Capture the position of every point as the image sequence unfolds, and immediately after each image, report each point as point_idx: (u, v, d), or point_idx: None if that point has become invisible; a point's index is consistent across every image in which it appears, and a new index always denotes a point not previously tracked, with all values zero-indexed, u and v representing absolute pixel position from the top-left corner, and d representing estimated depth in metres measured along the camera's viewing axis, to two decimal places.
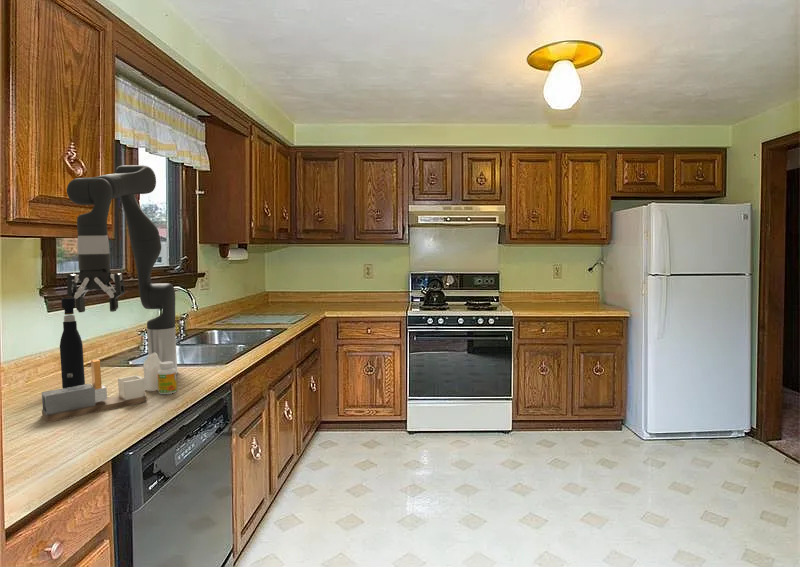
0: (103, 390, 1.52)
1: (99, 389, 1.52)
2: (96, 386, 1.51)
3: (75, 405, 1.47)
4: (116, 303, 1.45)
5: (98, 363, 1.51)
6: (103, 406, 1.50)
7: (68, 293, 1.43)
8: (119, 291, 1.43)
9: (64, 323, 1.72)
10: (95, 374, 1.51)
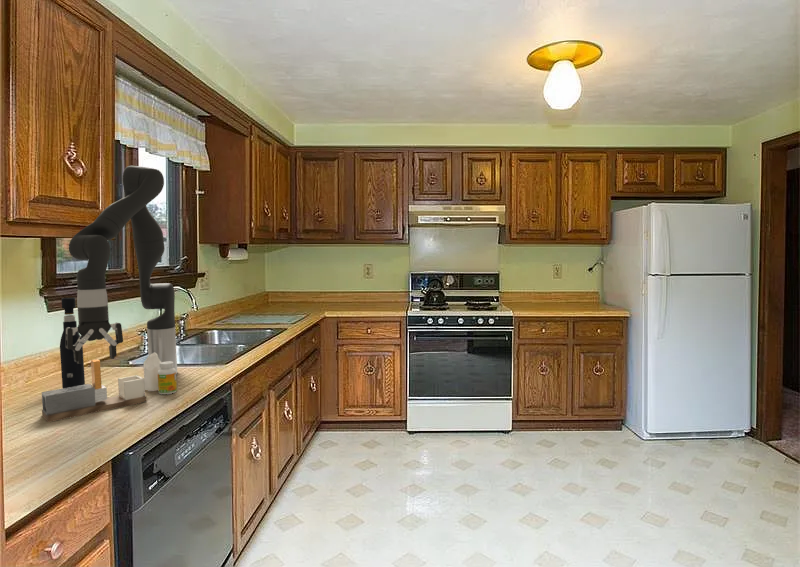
0: (103, 390, 1.52)
1: (99, 389, 1.52)
2: (96, 386, 1.51)
3: (75, 405, 1.47)
4: (74, 356, 1.48)
5: (98, 363, 1.51)
6: (103, 406, 1.50)
7: None
8: None
9: (64, 323, 1.72)
10: (95, 374, 1.51)
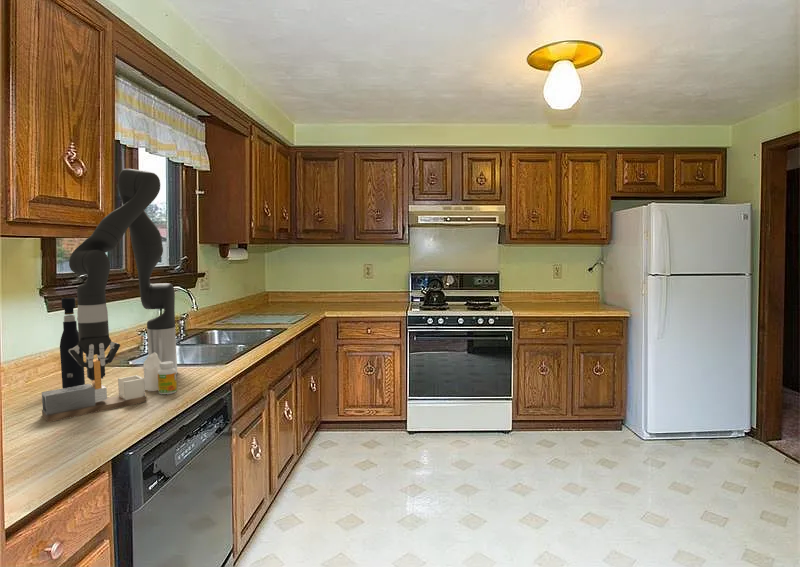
0: (103, 390, 1.52)
1: (99, 389, 1.51)
2: (96, 386, 1.51)
3: (75, 405, 1.47)
4: (87, 373, 1.51)
5: (98, 363, 1.51)
6: (103, 406, 1.50)
7: None
8: None
9: (64, 323, 1.72)
10: (95, 374, 1.51)
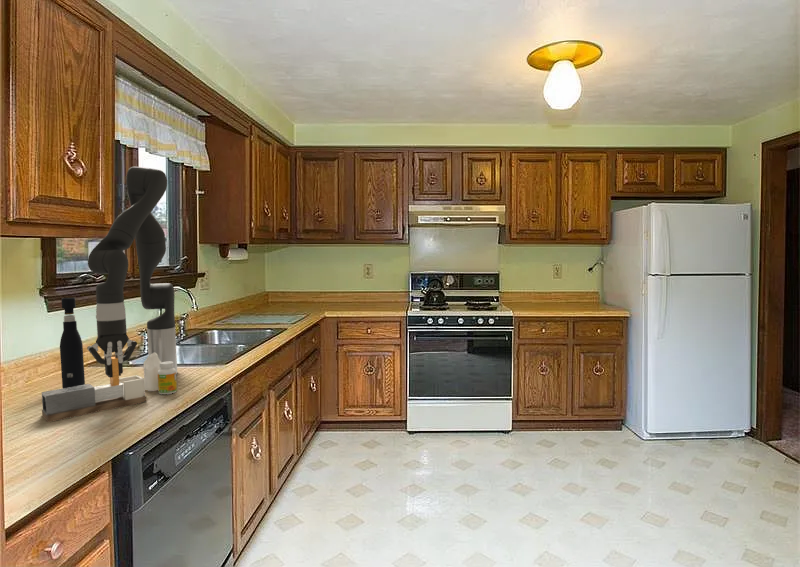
0: (120, 386, 1.55)
1: (117, 386, 1.55)
2: (114, 383, 1.54)
3: (75, 405, 1.47)
4: (105, 370, 1.54)
5: (116, 360, 1.55)
6: (103, 406, 1.50)
7: None
8: None
9: (64, 323, 1.72)
10: (113, 371, 1.54)
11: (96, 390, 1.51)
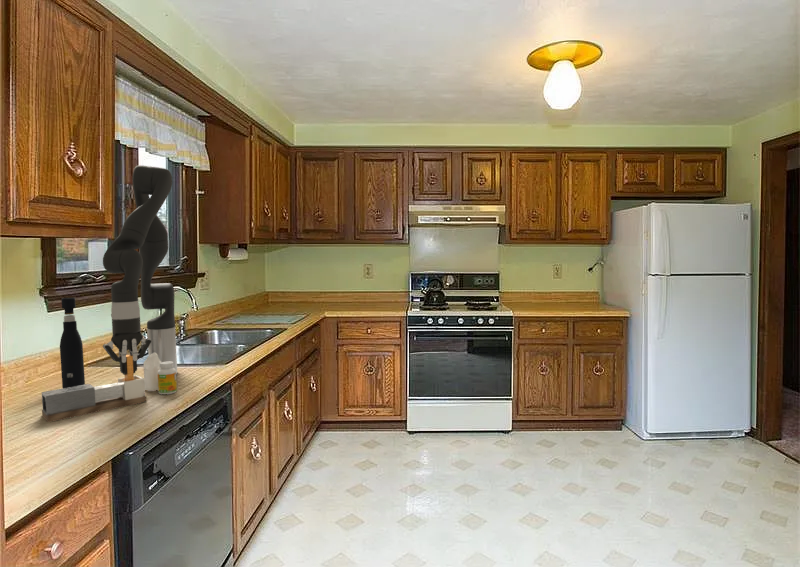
0: None
1: None
2: (129, 380, 1.57)
3: (75, 405, 1.47)
4: (120, 367, 1.57)
5: (131, 358, 1.57)
6: (103, 406, 1.50)
7: None
8: None
9: (64, 323, 1.72)
10: (128, 369, 1.57)
11: (111, 387, 1.54)
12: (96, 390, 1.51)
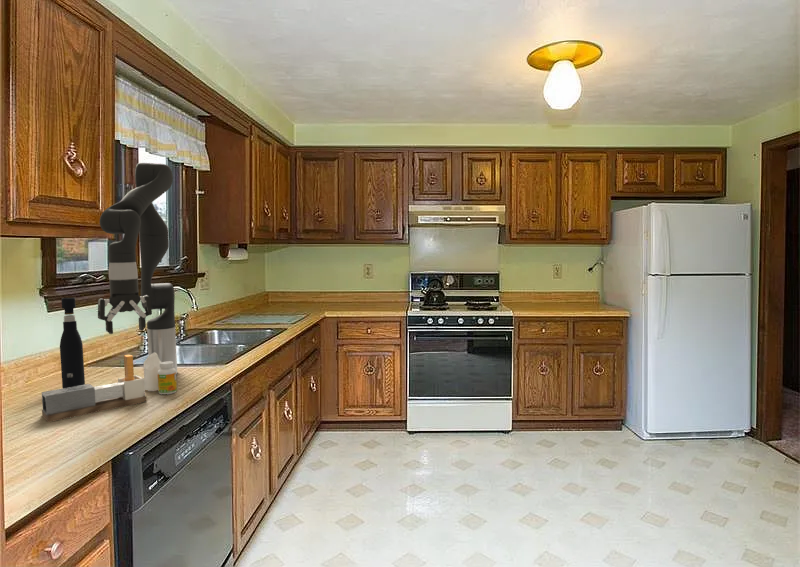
0: None
1: None
2: (129, 380, 1.57)
3: (75, 405, 1.47)
4: (106, 326, 1.54)
5: (131, 358, 1.57)
6: (103, 406, 1.50)
7: None
8: None
9: (64, 323, 1.72)
10: (128, 369, 1.57)
11: (112, 387, 1.54)
12: (96, 390, 1.51)
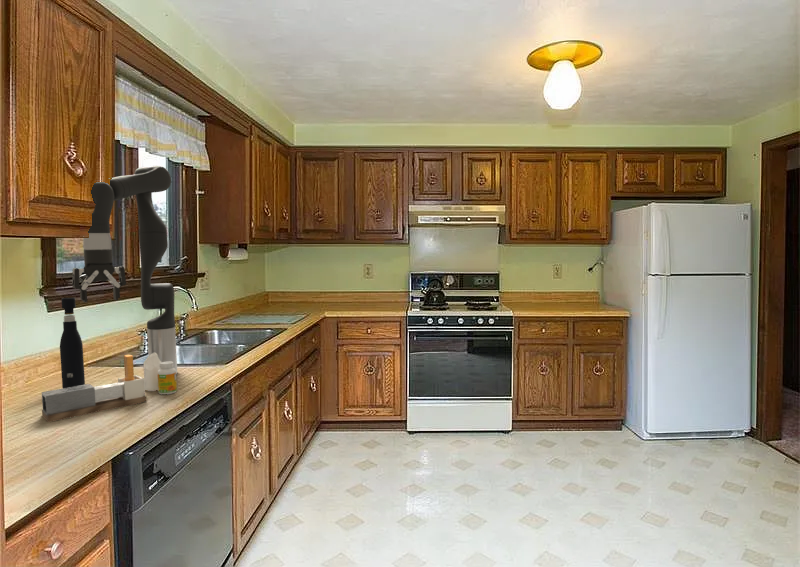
0: None
1: None
2: (129, 380, 1.57)
3: (75, 405, 1.47)
4: (80, 295, 1.59)
5: (131, 358, 1.57)
6: (103, 406, 1.50)
7: None
8: None
9: (64, 323, 1.72)
10: (128, 369, 1.57)
11: (112, 387, 1.54)
12: (96, 390, 1.51)
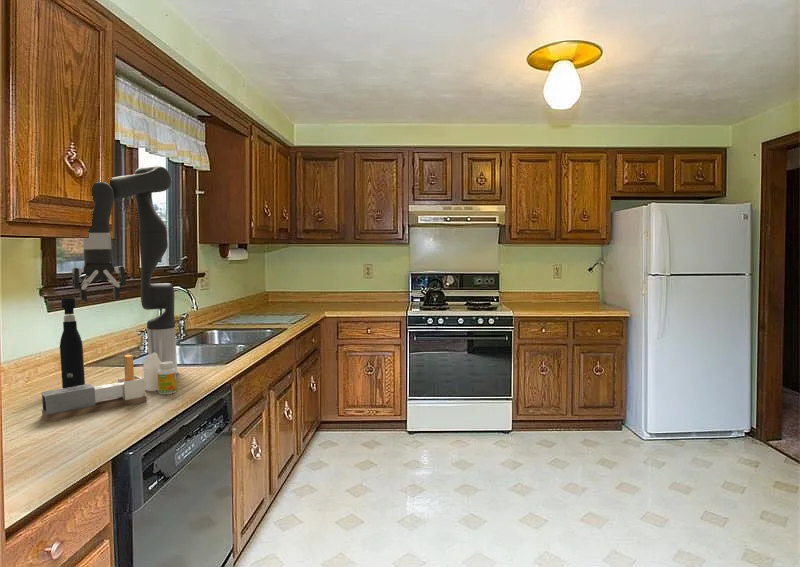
0: None
1: None
2: (129, 380, 1.57)
3: (75, 405, 1.47)
4: (80, 294, 1.59)
5: (131, 358, 1.57)
6: (103, 406, 1.50)
7: None
8: None
9: (64, 323, 1.72)
10: (128, 369, 1.57)
11: (112, 387, 1.54)
12: (96, 390, 1.51)
